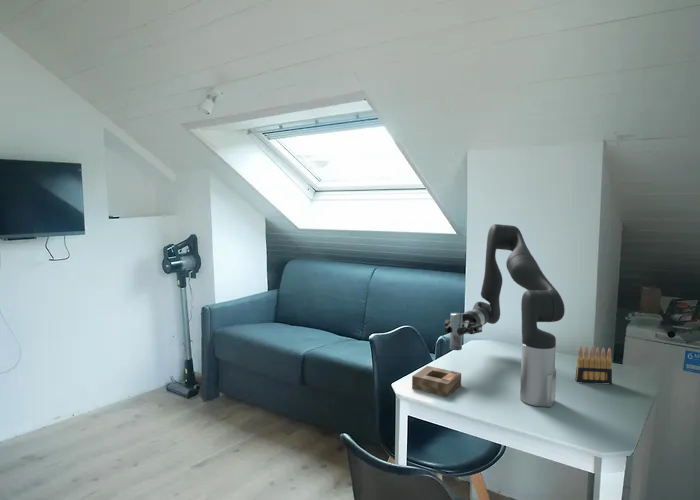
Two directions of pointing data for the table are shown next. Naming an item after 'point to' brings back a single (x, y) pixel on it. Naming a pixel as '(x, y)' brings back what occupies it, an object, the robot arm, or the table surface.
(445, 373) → the block
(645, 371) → the table surface
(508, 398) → the table surface
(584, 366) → the ammunition clip
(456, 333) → the barrel peg
